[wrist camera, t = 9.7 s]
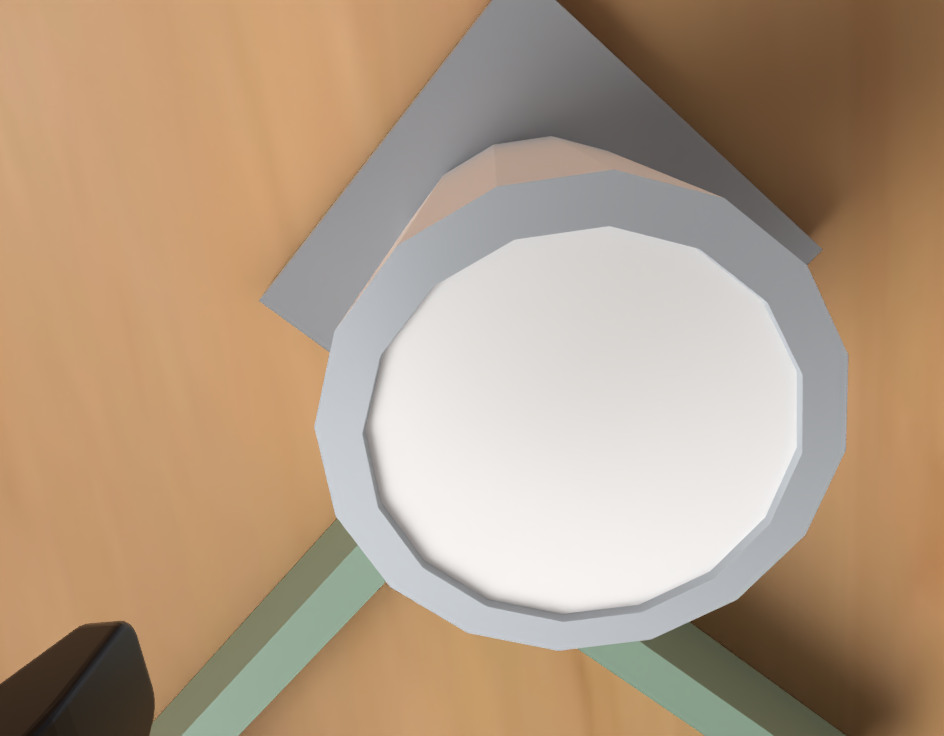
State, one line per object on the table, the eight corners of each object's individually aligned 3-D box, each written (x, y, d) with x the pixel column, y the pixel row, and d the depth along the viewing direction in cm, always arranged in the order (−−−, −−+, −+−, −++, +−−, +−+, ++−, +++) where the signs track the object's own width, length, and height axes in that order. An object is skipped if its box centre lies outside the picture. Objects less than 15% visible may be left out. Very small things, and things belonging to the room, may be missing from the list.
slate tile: (808, 239, 18) (822, 249, 17) (550, 497, 21) (553, 515, 20) (516, -33, 16) (518, -35, 15) (266, 288, 18) (258, 301, 18)
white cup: (561, 19, 16) (631, 36, 9) (777, 291, 18) (959, 459, 11) (295, 267, 17) (198, 427, 11) (520, 489, 19) (549, 733, 13)
